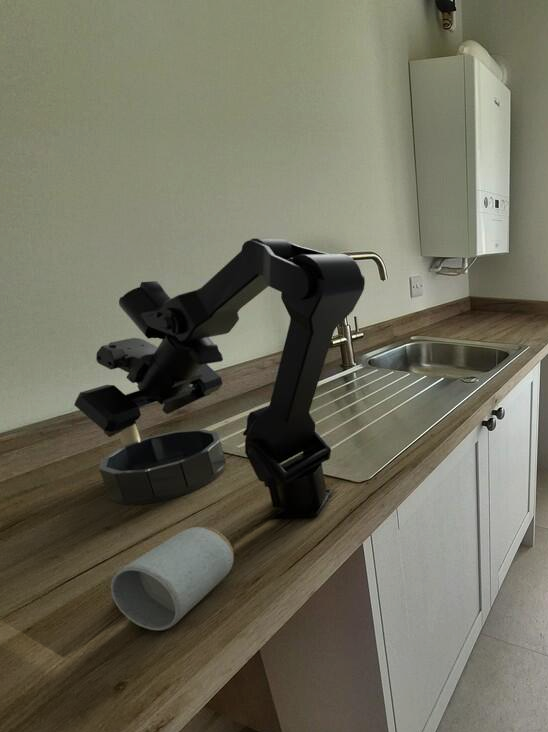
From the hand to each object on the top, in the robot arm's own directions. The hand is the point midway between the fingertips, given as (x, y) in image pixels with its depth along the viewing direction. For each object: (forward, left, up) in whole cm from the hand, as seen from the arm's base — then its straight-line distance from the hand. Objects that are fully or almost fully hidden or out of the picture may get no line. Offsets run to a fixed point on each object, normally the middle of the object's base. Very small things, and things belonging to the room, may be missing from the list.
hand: (138, 422), depth 67 cm
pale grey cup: (-22, +28, -10) cm, 37 cm away
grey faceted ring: (-4, +3, -9) cm, 10 cm away
